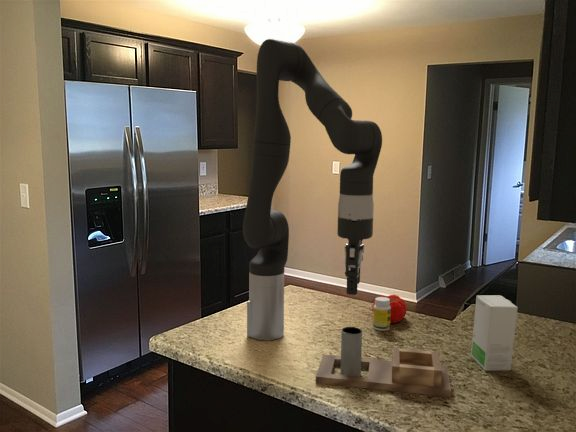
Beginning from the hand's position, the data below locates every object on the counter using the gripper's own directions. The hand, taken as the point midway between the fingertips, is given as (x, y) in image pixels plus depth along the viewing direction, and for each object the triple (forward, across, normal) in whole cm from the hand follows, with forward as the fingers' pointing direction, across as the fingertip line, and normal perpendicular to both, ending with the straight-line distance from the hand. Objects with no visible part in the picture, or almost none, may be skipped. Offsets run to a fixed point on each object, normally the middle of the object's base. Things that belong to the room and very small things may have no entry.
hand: (353, 288), depth 115 cm
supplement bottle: (+20, -31, +6) cm, 37 cm away
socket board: (+20, 0, +7) cm, 21 cm away
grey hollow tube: (+20, 0, 0) cm, 20 cm away
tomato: (+20, -39, +8) cm, 45 cm away
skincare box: (+20, -13, +32) cm, 40 cm away
